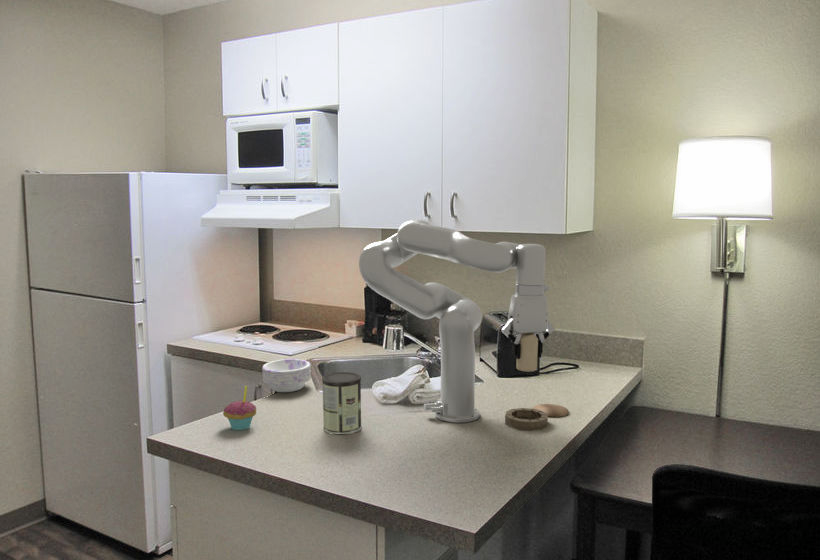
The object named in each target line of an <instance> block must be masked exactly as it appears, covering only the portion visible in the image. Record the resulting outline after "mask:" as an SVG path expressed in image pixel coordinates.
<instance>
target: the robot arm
mask: <svg viewBox="0 0 820 560" xmlns="http://www.w3.org/2000/svg"><path fill="white" fill-rule="evenodd" d="M418 254H420V255H426V256H429V257H434V258H437V259H443V260H445V261H446V260H447V261H450V262H453V263H454V264H455V263H456V264H459V265H461V266H465V267H469V268H472V269H476V270H480V271H485V272H491V273H494V274H495V273H497V274H498V273H499V274H500V273H504V272H507V270H510V269H515V285H514V286H515V288H514V290H515V291H514V294H512V295H511V298H510V303H509V308H508V313H507V314H508V315H507V322H506V324H505V325H504V326H503V327H502V328H501V330H500V331H501V333H502V334H504V335H505V336H506V338H508V339H509V341H510V342H511V354H512V356H513V357H514V358H515V359H516V360H517V359H520V351H521V345H520V344H519V341H520V338H521V335H522V333H534V334H535V336H536V337H537V338H538V356H537V358H542V354H543V347H544V343H546V339H547V338H549V336H550V334H552V333H553V331H555V327H554V326H553V324H552V323H551V322H550V320H549V309H548V301H547V297H546V295H545V292H547V291H549V286H548V285H546V284H545V274H546V254H547V253H546V248H545V245H542V244H539V243H522V244H521V243H516V242H510V241H499V242H497V243H492V242H488V241H485V240H480V239H479V240H478V239H477V238H476V239H475V238H472V237H469V236H466V235H464V234H463V233H461V232H460V231H459V230H456V229H454V228H448V227H442V226H439V225H434V224H430V223H429V222H428V221H425V220H423V219H414V220H413V219H412V220H408V221H405V222H404V223H402V224H401V225H400V226H399V228H398V229H397V233H395V234H393V235H392V236H390V237H388V238H387V239H385V240H381V241H376V242H373V243H370V244H368V245H367V246H365V247H364V248H363V250H361V252H360V254H359V258H358V268H359V272H360V275H361V277H362V279H363V281H364V283H365V284H366V285H367V286H368V287H369V288H370V289H371V290H372V291H374V292H375V293H377V294H378V295H380V296H382V297H383V298H386V299H387V300H389V301H390V302H392V303H394V304H395V305H396V306H399V307H400V308H402V309H403V310H406V311H408V312H409V313H411V314H412V315H414V316H416V318H419V319H422V320H430V319H433V318H434V317H435V318H437V319H439V322H438V323H439V324H438V333H439V342H440V398H436V399H437V400H436V401H434V403H433V402H432V403H430V402H429V403H424V404H423V410H424V411H430V412H431V413H434V415H435V417H436V418H437V419H439V420H440V421H444V422H448V423H460V424H461V423H469V422H473V421H476V420H478V419H479V418H480V416H481V415H480V413H481V412H480V410H479V409H478V408H476V407H475V390H476V389H475V383H476V382H475V381H476V379H475V377H476V376H475V374H476V346H475V345H476V344H475V331H476V330H477V329H478V328H479V327H480V325H481V323H482V320H483V313H482V310H481V308H480V306H479V305H478V304H477V303H476V302H475V301H473V300H471V299H470V298H468V297H466V296H464V295H463V294H461V293H459V292H457V291H456V290H454V289H452V288H450V287H449V286H446V285H444V284H441V283H439V282H432V281H431V282H427V283H425V284H423V283H422V282H419V281H417V280H416V279H413V278H411V277H410V276H408V275H406V274H405V273H402V272H400V271H398V270H396V269H395V268H396V267H398V266H401V265H402V264H403V263H405V262H406V261H408V260H410V259H411V258H413V257H414V256H416V255H418ZM510 331H512V333H511V332H510Z"/></svg>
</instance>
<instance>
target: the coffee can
mask: <svg viewBox="0 0 820 560" xmlns="http://www.w3.org/2000/svg"><path fill="white" fill-rule="evenodd" d="M321 377H322V378H321V380H322V381H321V382H322V409H323V410H322V415H323V416H322V417H323V422H322V423H323V431H324V432H325V431H326V432H325V433H327V432H328V433H327V434H329V433H332V434H331V435H335V434H347V435H351V434H355V432H356V433H357V432H359V431H361V430H362V400H361V399H362V388H361V387H362V386H361V384H362V383H361V382H362V381H361V380H362V376H361V374H358V373H356V372H352V371H349V372H348V371H347V372H346V371H341V372H339V371H338V372H331V373H327V374H325V375H323V376H321Z"/></svg>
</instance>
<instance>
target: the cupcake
mask: <svg viewBox="0 0 820 560" xmlns="http://www.w3.org/2000/svg"><path fill="white" fill-rule="evenodd" d="M243 392H244V393H243V397H242V398H243V399H241V400H237V401H233V402H231V403H229V404H227V405H226V407H224V408H223V411H222V415H223V416H224V417H225V418H227V420H228V422H229V424H230V427H231V429H232V430H233V431H245V430H248V429H249V428H250V427H251V424H252V420H253V418H254V417H255V416H256V414H257V407H256V405H255V404H254V403H253V402H250V401H246V400H247V393H248V383H246V385H245V386H244V390H243Z"/></svg>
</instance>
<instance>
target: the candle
mask: <svg viewBox="0 0 820 560" xmlns="http://www.w3.org/2000/svg"><path fill="white" fill-rule="evenodd" d="M519 344H520V345H521V351H520V359H517V358H516V362H515V363H516V365H515V366H516V369H517V370H518V371H521V372H529V373H531V372H535V371H537V369H538V357H537V356H538V338H537V337H536V336H535V333H522V335H521V338H520V341H519Z"/></svg>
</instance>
